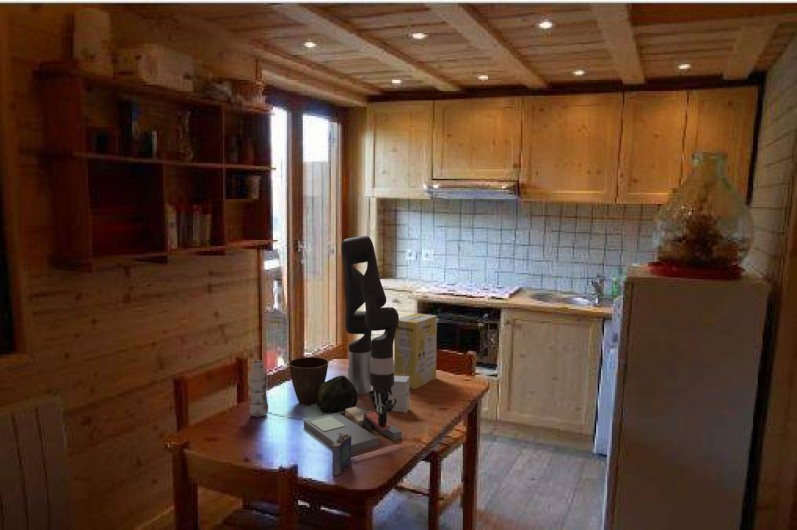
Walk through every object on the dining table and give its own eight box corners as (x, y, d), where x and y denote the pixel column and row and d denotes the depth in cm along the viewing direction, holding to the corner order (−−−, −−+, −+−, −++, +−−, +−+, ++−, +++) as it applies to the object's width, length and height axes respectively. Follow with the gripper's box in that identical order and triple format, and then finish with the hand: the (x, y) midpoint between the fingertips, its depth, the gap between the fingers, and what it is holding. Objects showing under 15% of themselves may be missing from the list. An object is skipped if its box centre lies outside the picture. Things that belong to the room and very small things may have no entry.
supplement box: (406, 415, 205) (406, 382, 204) (386, 414, 206) (386, 380, 205) (409, 408, 212) (410, 376, 211) (390, 407, 214) (390, 374, 212)
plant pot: (324, 394, 227) (324, 355, 226) (332, 407, 213) (331, 365, 211) (287, 398, 223) (286, 358, 221) (292, 411, 209) (291, 369, 207)
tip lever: (341, 417, 196) (343, 397, 194) (355, 414, 199) (357, 394, 197) (376, 451, 178) (378, 428, 176) (390, 446, 181) (393, 424, 180)
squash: (310, 392, 214) (318, 370, 203) (348, 388, 220) (357, 367, 209) (317, 426, 205) (325, 405, 195) (356, 422, 211) (366, 401, 201)
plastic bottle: (272, 413, 206) (271, 360, 204) (260, 420, 200) (259, 365, 198) (258, 411, 209) (257, 358, 206) (246, 417, 203) (244, 363, 200)
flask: (338, 477, 159) (338, 440, 158) (329, 475, 160) (328, 438, 159) (353, 463, 167) (352, 428, 166) (344, 461, 168) (344, 427, 167)
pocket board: (303, 431, 190) (303, 419, 190) (359, 417, 203) (359, 406, 203) (342, 459, 169) (342, 446, 169) (401, 442, 182) (401, 430, 182)
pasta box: (415, 373, 256) (416, 313, 253) (436, 377, 250) (437, 315, 247) (394, 384, 240) (394, 320, 237) (415, 389, 235) (416, 322, 232)
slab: (344, 416, 195) (345, 409, 194) (355, 414, 198) (355, 406, 197) (358, 429, 188) (358, 421, 187) (368, 426, 191) (369, 418, 190)
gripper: (361, 367, 181) (361, 420, 183) (384, 377, 171) (384, 432, 172) (380, 364, 186) (380, 415, 187) (404, 373, 175) (404, 427, 176)
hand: (382, 423), depth 179 cm, fingers closed
